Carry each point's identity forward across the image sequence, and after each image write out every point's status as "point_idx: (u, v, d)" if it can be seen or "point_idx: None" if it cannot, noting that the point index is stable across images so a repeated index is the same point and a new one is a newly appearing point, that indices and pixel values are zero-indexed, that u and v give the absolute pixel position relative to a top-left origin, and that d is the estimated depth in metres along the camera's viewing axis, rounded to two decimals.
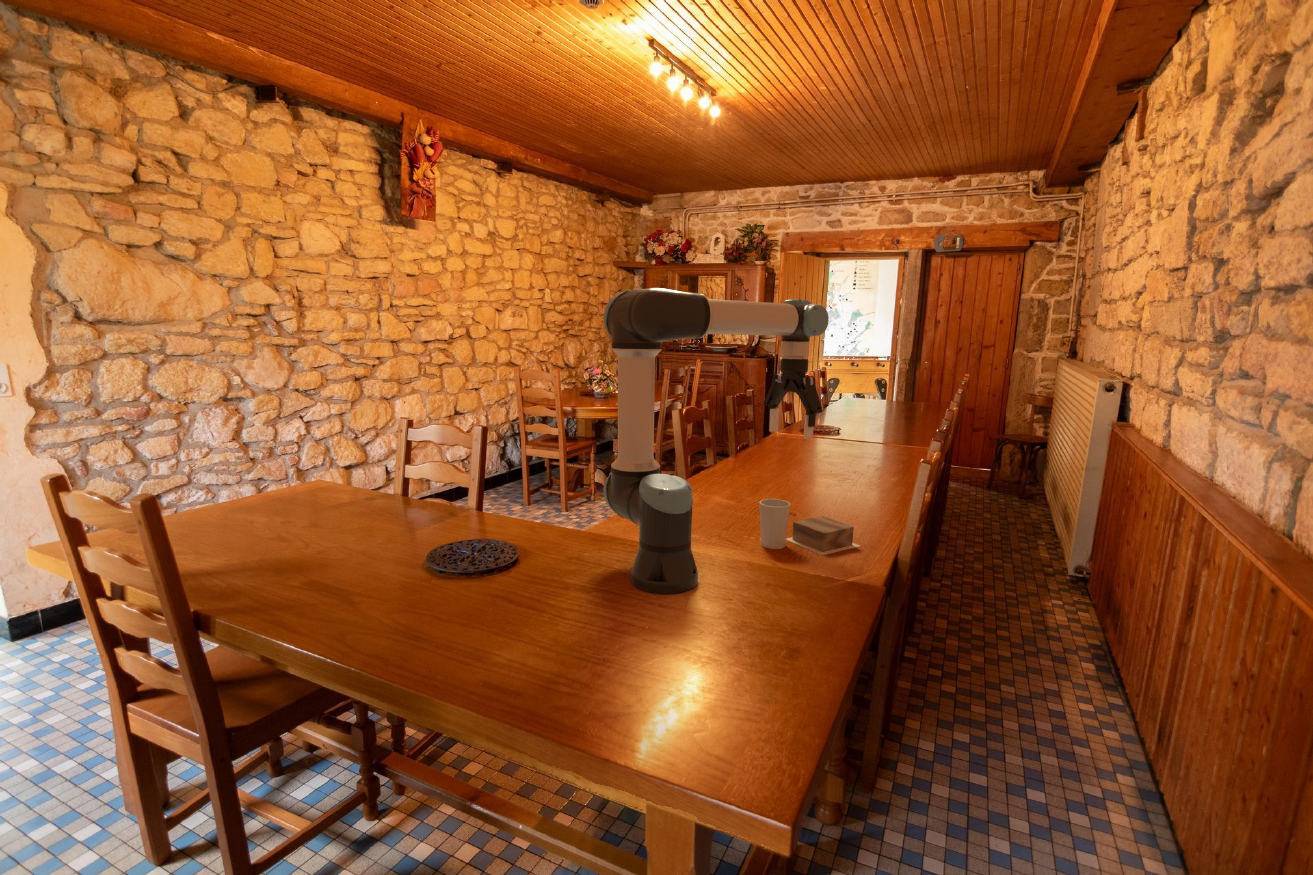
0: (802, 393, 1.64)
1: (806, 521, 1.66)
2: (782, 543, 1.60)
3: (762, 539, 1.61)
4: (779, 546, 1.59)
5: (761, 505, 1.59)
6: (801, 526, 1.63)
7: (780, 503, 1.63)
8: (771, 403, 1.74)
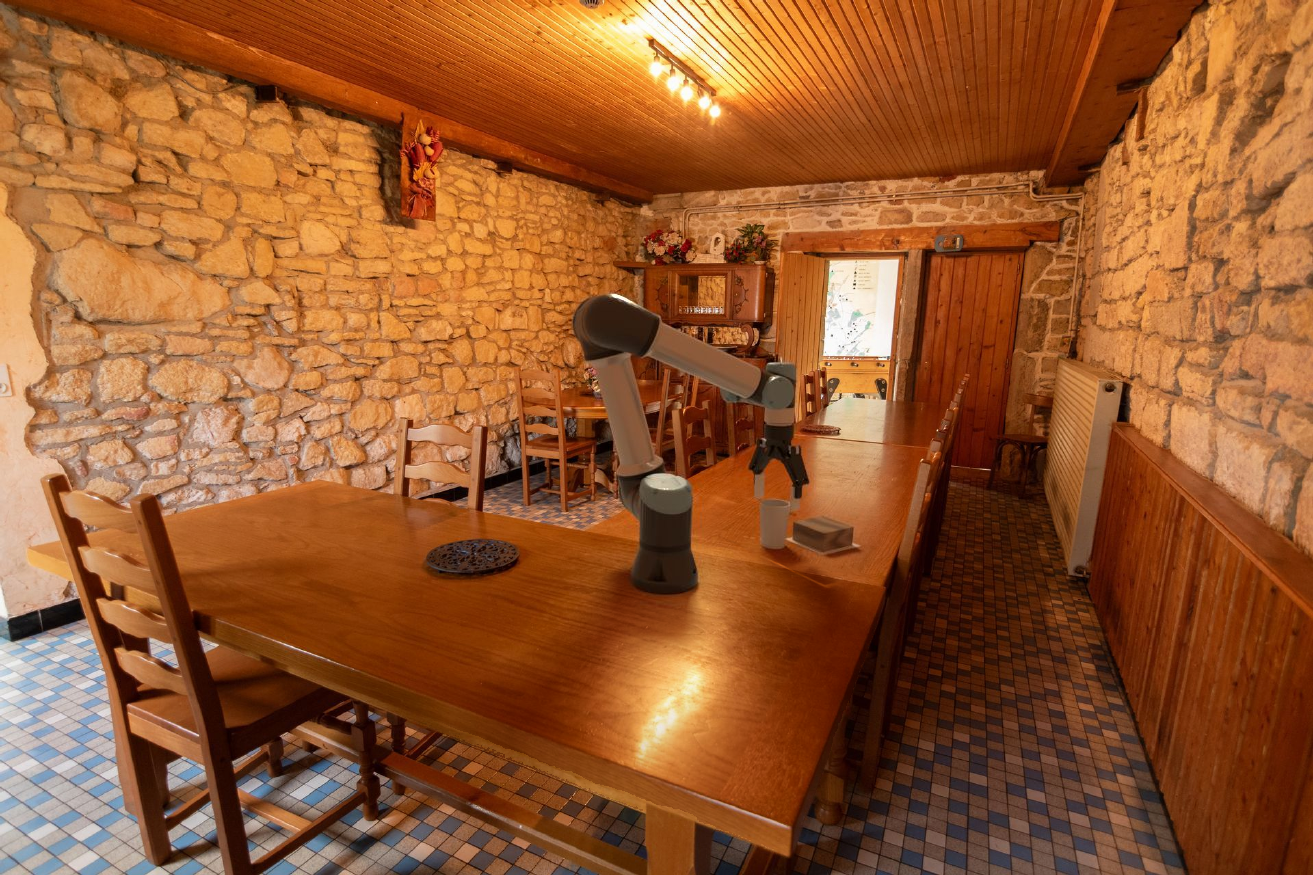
0: (787, 462, 1.54)
1: (806, 521, 1.66)
2: (782, 543, 1.60)
3: (762, 539, 1.61)
4: (779, 546, 1.59)
5: (761, 505, 1.59)
6: (801, 526, 1.63)
7: (780, 503, 1.63)
8: (756, 469, 1.64)
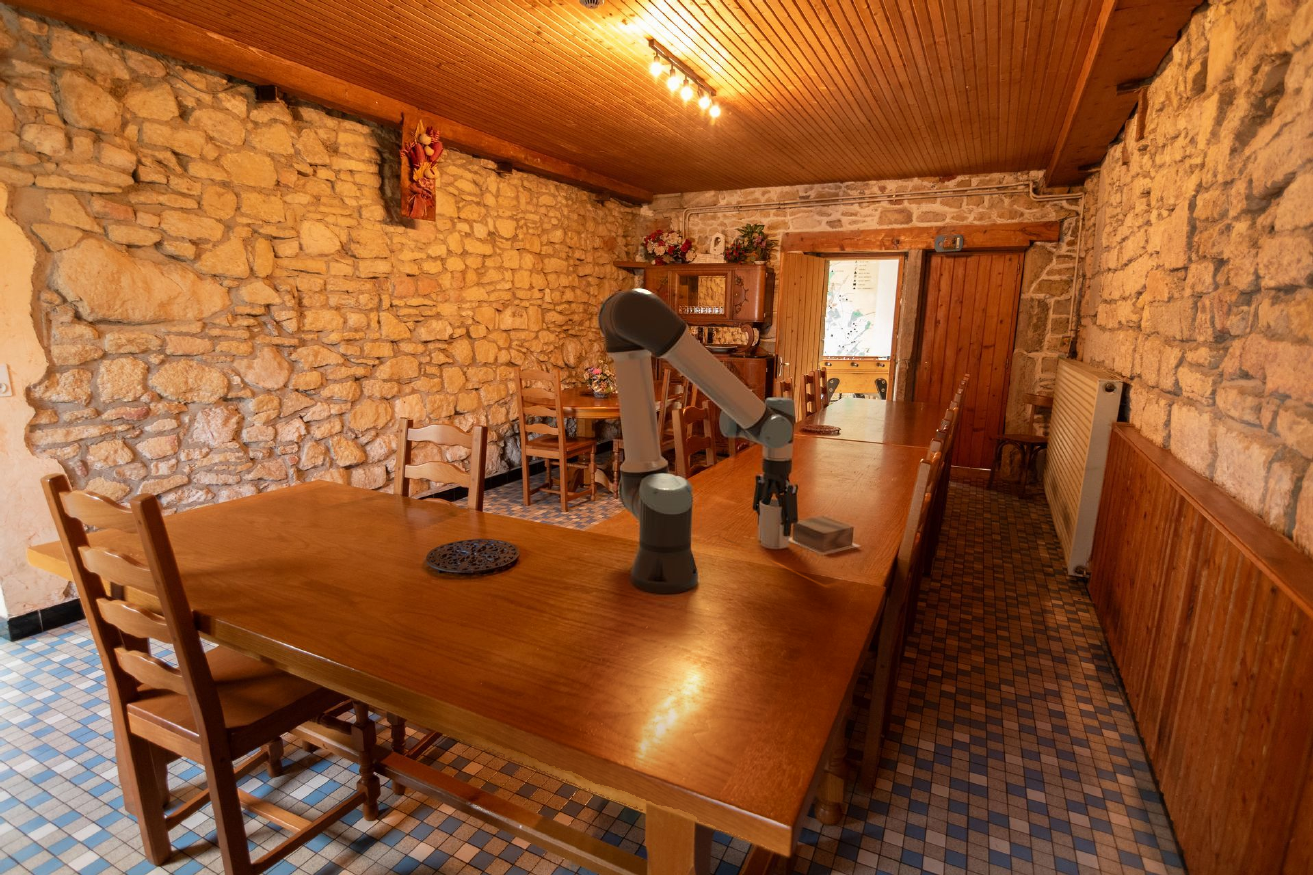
0: (782, 499, 1.57)
1: (806, 521, 1.66)
2: None
3: (762, 539, 1.61)
4: None
5: (761, 505, 1.59)
6: (801, 526, 1.63)
7: None
8: (759, 508, 1.64)
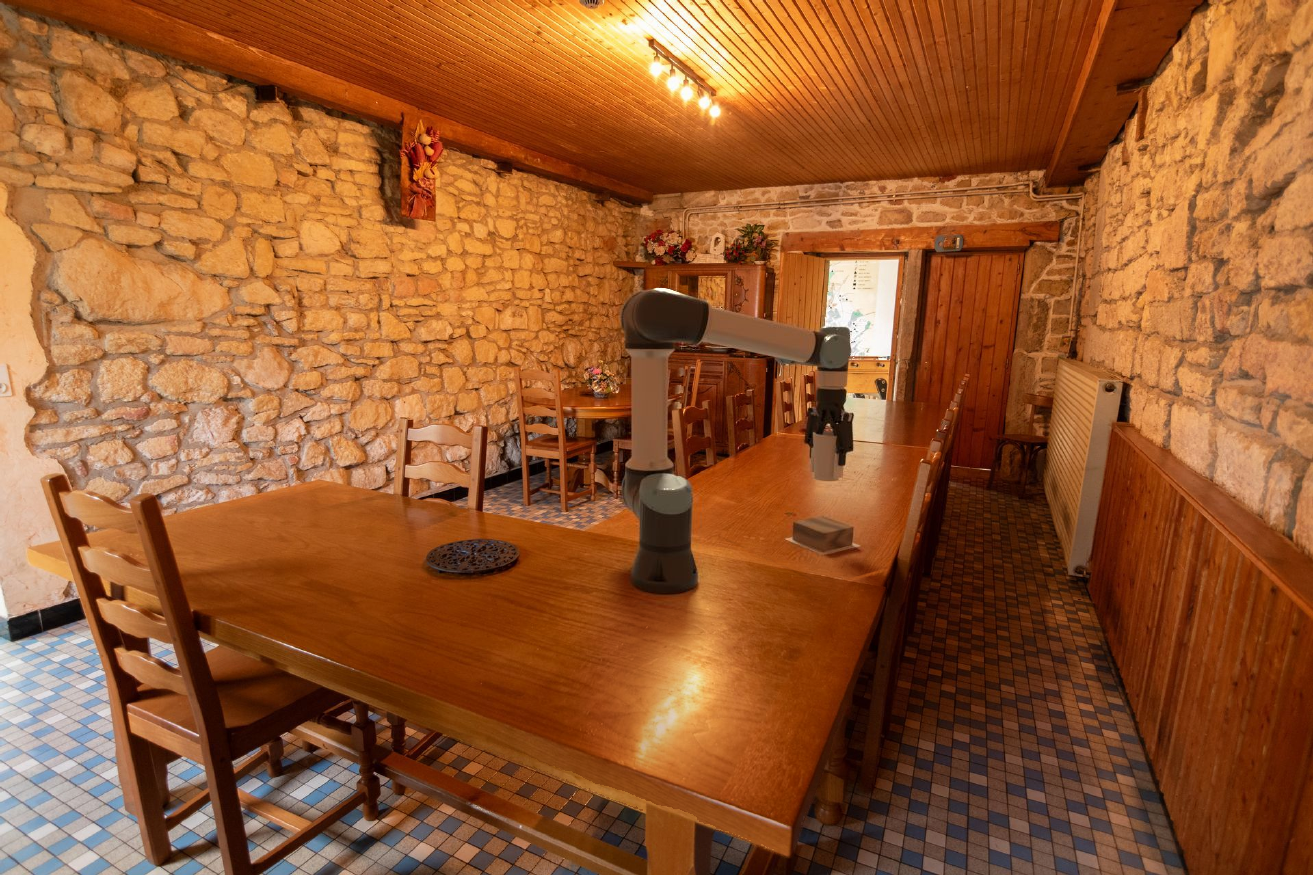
0: (837, 428, 1.56)
1: (806, 521, 1.66)
2: None
3: (816, 470, 1.60)
4: None
5: (815, 435, 1.58)
6: (801, 526, 1.63)
7: (833, 435, 1.63)
8: (812, 441, 1.63)
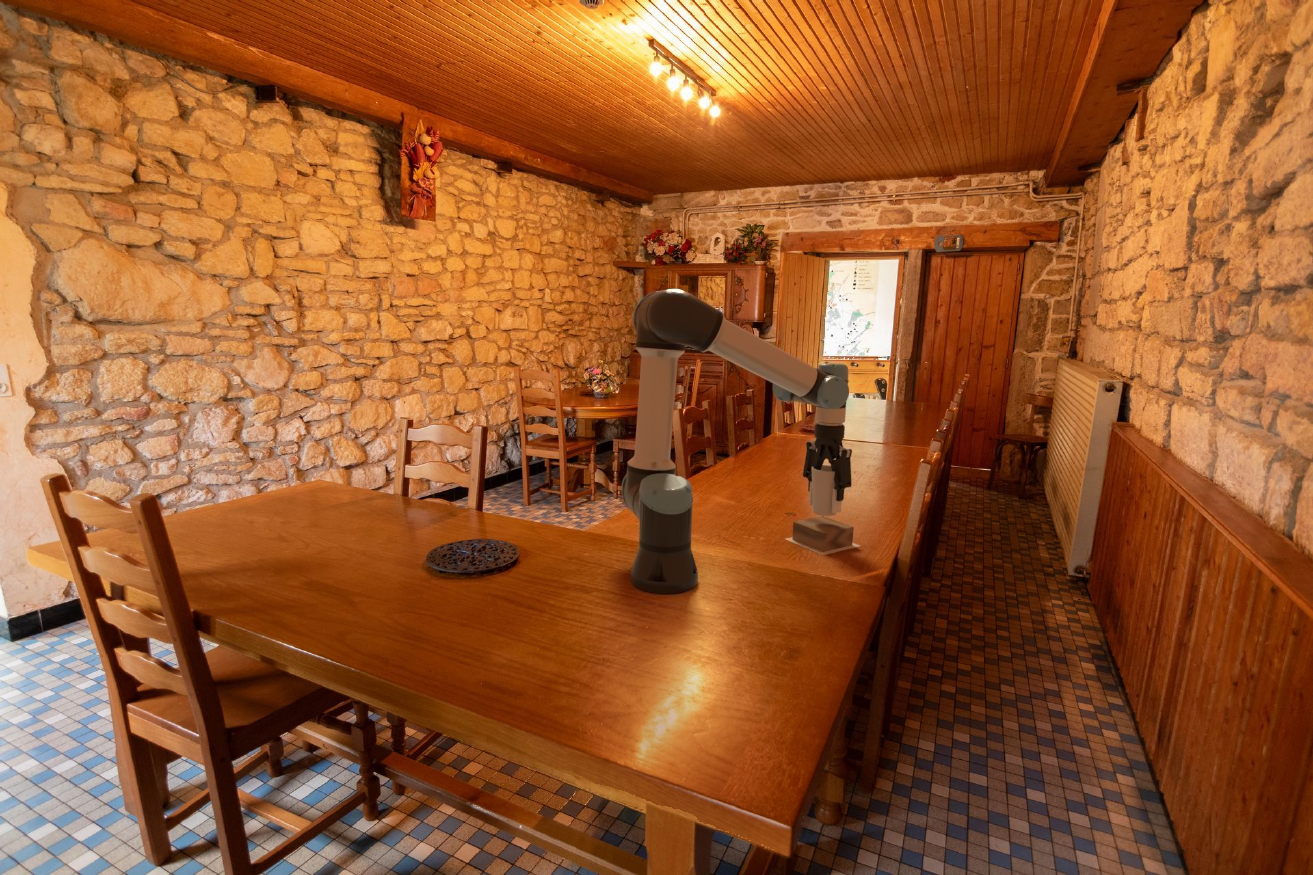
0: (835, 464, 1.58)
1: (806, 521, 1.66)
2: None
3: (814, 504, 1.62)
4: None
5: (814, 470, 1.60)
6: (801, 526, 1.63)
7: None
8: (810, 475, 1.65)
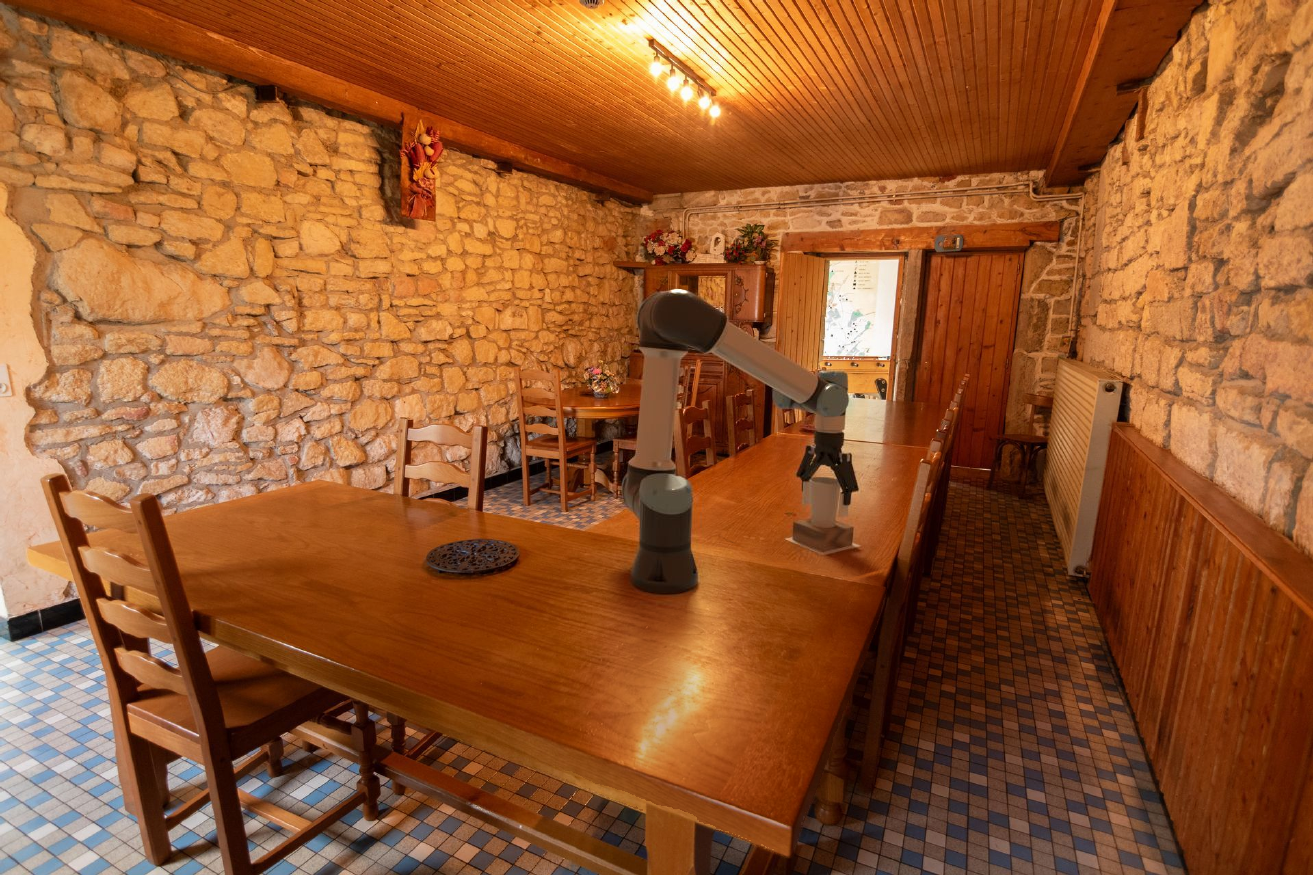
0: (837, 469, 1.57)
1: (806, 521, 1.66)
2: (833, 520, 1.61)
3: (813, 516, 1.62)
4: (831, 523, 1.61)
5: (812, 483, 1.60)
6: (801, 526, 1.63)
7: (830, 480, 1.65)
8: (804, 476, 1.67)
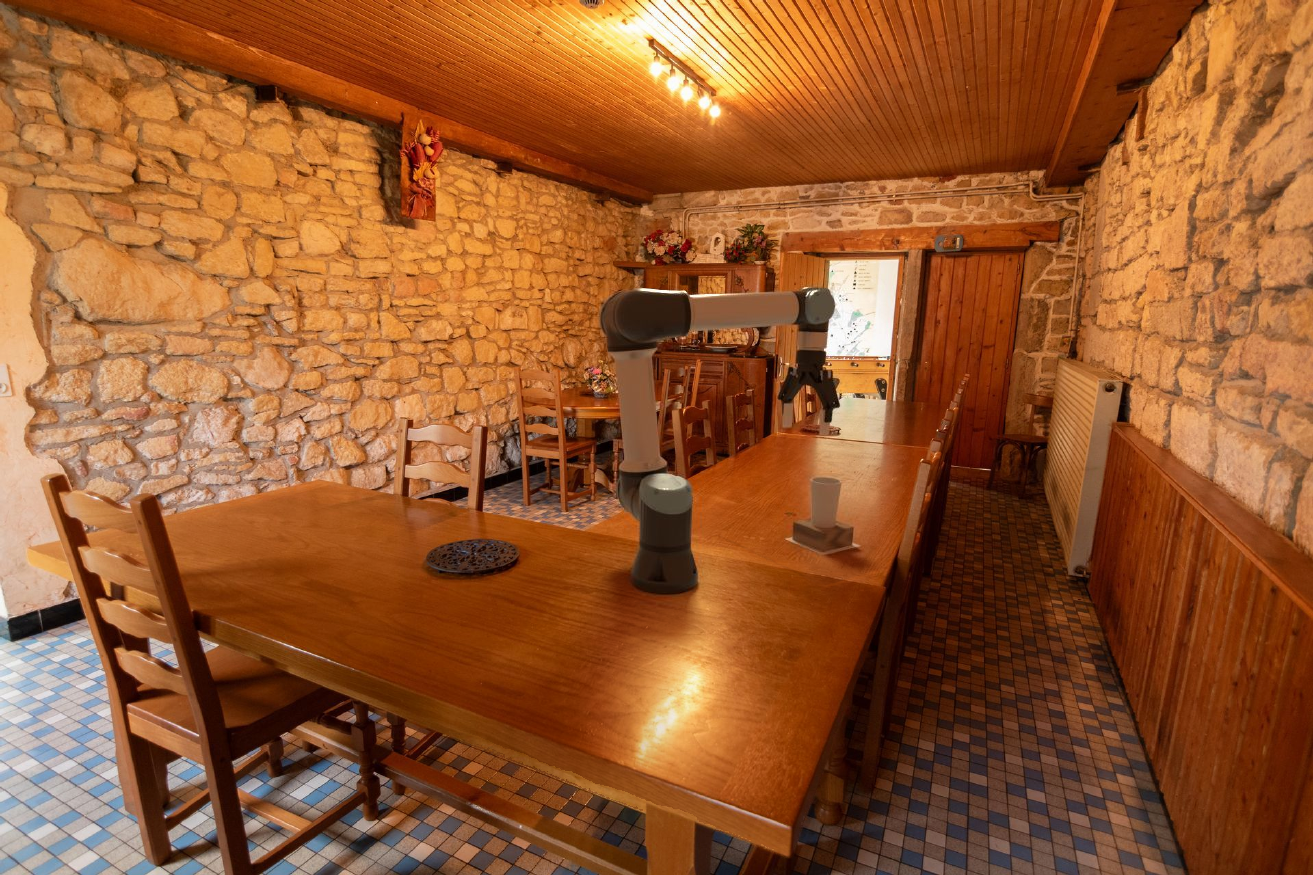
0: (819, 387, 1.55)
1: (806, 521, 1.66)
2: (833, 520, 1.61)
3: (813, 516, 1.62)
4: (831, 523, 1.61)
5: (813, 482, 1.61)
6: (801, 526, 1.63)
7: (830, 481, 1.65)
8: (785, 397, 1.65)
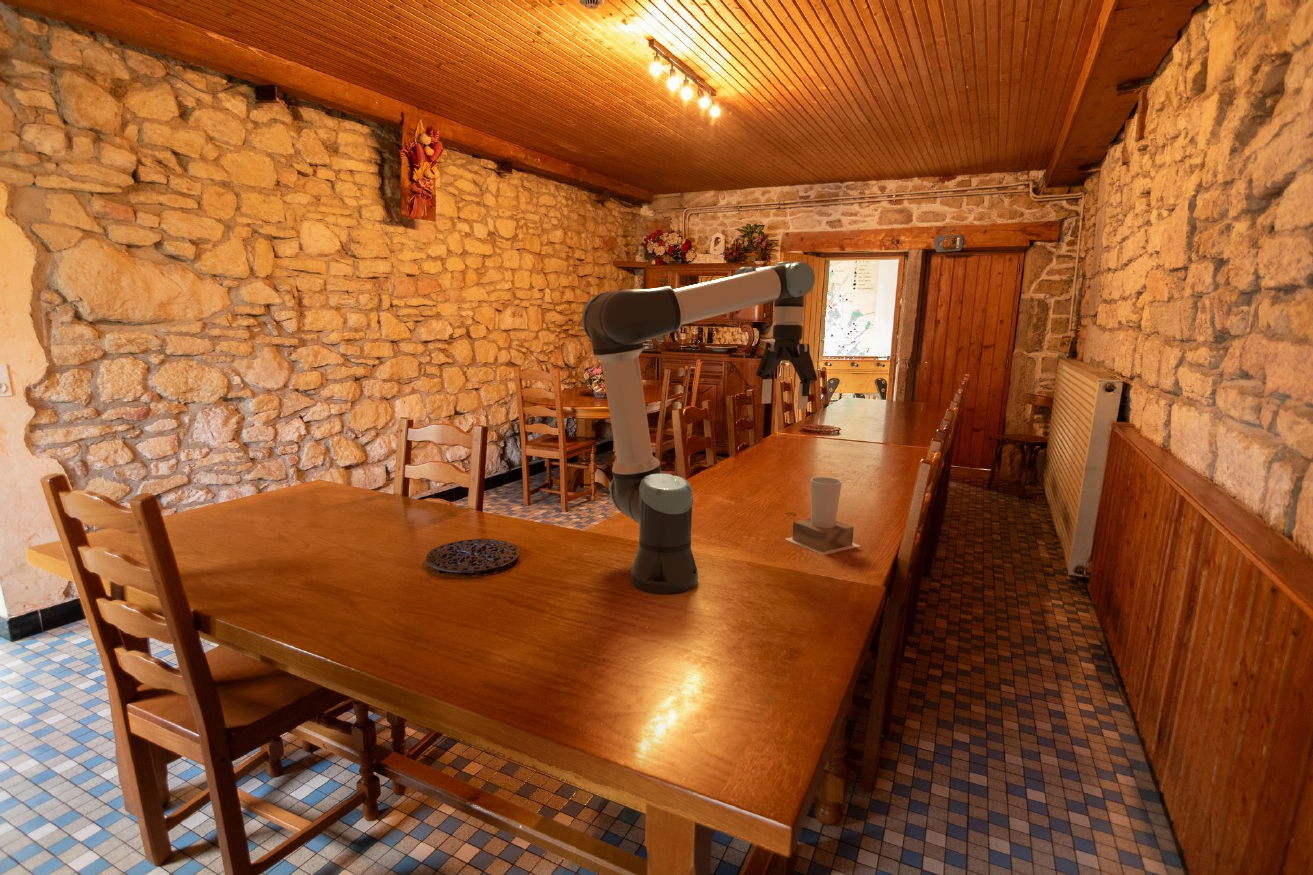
0: (796, 361, 1.56)
1: (806, 521, 1.66)
2: (833, 520, 1.61)
3: (813, 516, 1.62)
4: (831, 523, 1.61)
5: (813, 482, 1.61)
6: (801, 526, 1.63)
7: (830, 481, 1.65)
8: (764, 373, 1.66)
